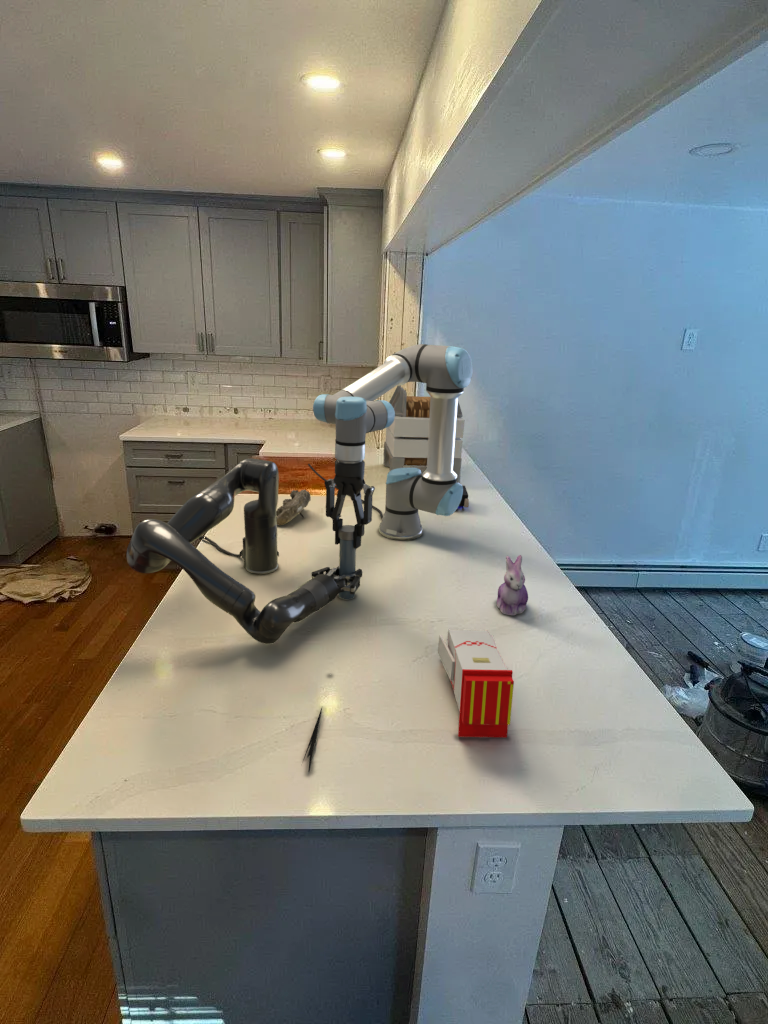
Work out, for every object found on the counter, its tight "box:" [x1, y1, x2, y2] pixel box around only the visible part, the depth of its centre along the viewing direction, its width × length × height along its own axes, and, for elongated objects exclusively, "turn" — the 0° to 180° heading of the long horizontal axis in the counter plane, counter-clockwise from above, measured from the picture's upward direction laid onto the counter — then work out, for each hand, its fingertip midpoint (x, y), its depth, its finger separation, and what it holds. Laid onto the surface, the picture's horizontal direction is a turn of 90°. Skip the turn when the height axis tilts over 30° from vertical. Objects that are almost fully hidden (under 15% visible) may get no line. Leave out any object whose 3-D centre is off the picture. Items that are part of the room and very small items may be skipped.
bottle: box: [338, 539, 357, 601], centre depth 152 cm, size 4×4×19 cm
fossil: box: [277, 489, 311, 526], centre depth 209 cm, size 22×10×15 cm
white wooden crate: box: [383, 385, 465, 483], centre depth 268 cm, size 34×33×41 cm
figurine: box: [496, 554, 529, 616], centre depth 150 cm, size 9×10×15 cm
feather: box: [301, 673, 332, 771], centre depth 108 cm, size 2×28×2 cm
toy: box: [437, 628, 515, 738], centre depth 117 cm, size 12×13×30 cm
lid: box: [338, 524, 354, 540], centre depth 149 cm, size 5×5×2 cm
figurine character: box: [455, 484, 470, 512], centre depth 229 cm, size 7×8×15 cm
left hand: (352, 569), depth 156 cm, fingers closed on bottle, 4 cm apart
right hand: (347, 544), depth 150 cm, fingers closed on lid, 5 cm apart
